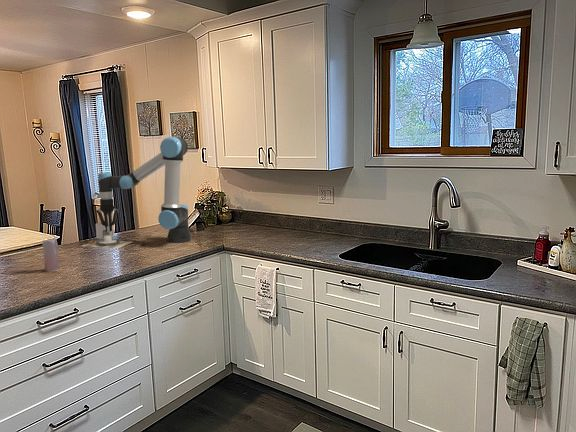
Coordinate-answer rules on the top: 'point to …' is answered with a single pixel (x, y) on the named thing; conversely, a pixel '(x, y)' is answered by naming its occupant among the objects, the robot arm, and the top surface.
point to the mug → (99, 230)
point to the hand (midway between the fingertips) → (109, 236)
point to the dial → (107, 237)
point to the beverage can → (50, 255)
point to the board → (122, 243)
